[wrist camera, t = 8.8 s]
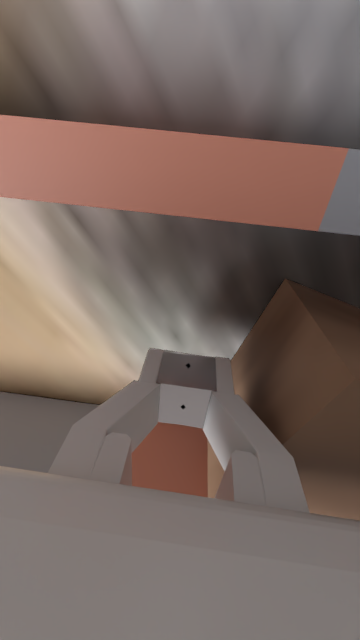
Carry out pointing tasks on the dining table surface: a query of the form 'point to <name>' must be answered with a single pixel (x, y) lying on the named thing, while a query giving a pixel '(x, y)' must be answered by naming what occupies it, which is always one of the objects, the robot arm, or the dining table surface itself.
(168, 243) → the dining table surface
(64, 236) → the dining table surface
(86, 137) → the frame
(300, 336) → the walnut block
